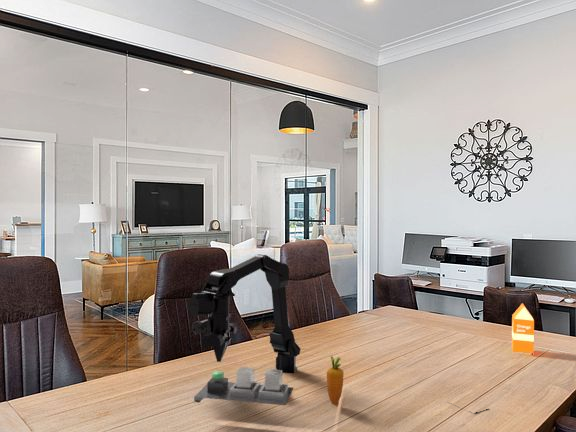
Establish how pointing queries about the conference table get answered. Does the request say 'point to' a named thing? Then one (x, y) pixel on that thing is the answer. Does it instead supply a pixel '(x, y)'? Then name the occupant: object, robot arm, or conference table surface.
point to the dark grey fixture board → (243, 392)
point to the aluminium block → (245, 378)
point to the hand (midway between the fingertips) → (219, 361)
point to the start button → (217, 375)
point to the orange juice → (522, 331)
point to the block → (273, 380)
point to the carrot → (335, 381)
